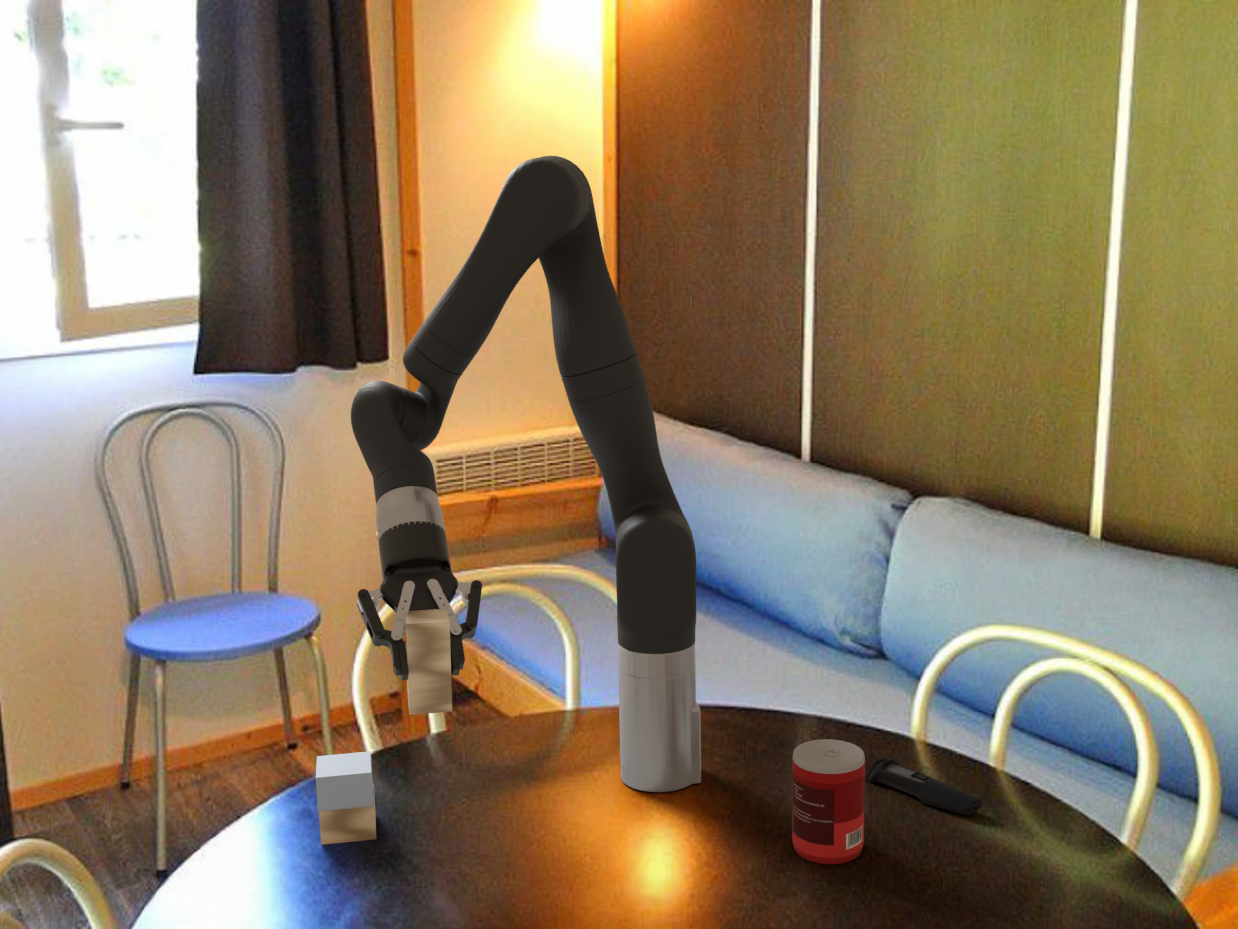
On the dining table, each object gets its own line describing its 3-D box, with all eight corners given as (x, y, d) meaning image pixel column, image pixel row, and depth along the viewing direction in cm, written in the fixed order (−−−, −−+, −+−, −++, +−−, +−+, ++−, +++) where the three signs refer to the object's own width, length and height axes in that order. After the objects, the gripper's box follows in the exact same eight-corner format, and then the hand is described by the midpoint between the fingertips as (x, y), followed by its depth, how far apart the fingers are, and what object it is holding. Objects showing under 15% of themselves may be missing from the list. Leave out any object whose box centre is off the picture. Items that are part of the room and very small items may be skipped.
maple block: (449, 696, 155) (446, 608, 153) (452, 711, 151) (449, 621, 149) (407, 699, 154) (404, 611, 152) (409, 714, 150) (406, 624, 148)
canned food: (861, 832, 157) (862, 739, 155) (866, 867, 149) (867, 769, 147) (791, 831, 158) (791, 737, 155) (792, 865, 150) (793, 767, 148)
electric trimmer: (967, 829, 158) (968, 802, 158) (862, 782, 170) (863, 757, 170) (988, 819, 161) (989, 793, 160) (883, 774, 173) (884, 749, 172)
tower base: (375, 816, 163) (373, 784, 163) (376, 840, 158) (374, 806, 157) (322, 822, 162) (320, 789, 162) (321, 846, 157) (318, 812, 156)
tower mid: (372, 784, 163) (370, 751, 162) (373, 806, 157) (371, 772, 156) (319, 789, 162) (316, 756, 161) (318, 811, 156) (315, 777, 155)
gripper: (348, 523, 154) (363, 666, 145) (478, 514, 158) (502, 652, 149) (345, 558, 160) (360, 697, 151) (471, 548, 164) (493, 683, 155)
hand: (430, 674), depth 150 cm, fingers closed on maple block, 4 cm apart
